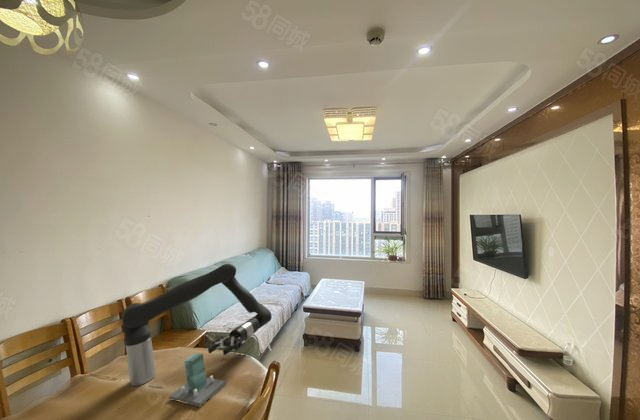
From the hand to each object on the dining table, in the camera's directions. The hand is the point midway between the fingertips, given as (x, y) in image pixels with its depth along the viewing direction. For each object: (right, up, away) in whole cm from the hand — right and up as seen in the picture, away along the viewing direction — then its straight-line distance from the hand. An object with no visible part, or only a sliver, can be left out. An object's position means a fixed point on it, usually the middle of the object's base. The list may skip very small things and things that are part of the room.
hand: (216, 351), depth 108 cm
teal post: (-3, -9, -10) cm, 13 cm away
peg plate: (-3, -10, -10) cm, 14 cm away
